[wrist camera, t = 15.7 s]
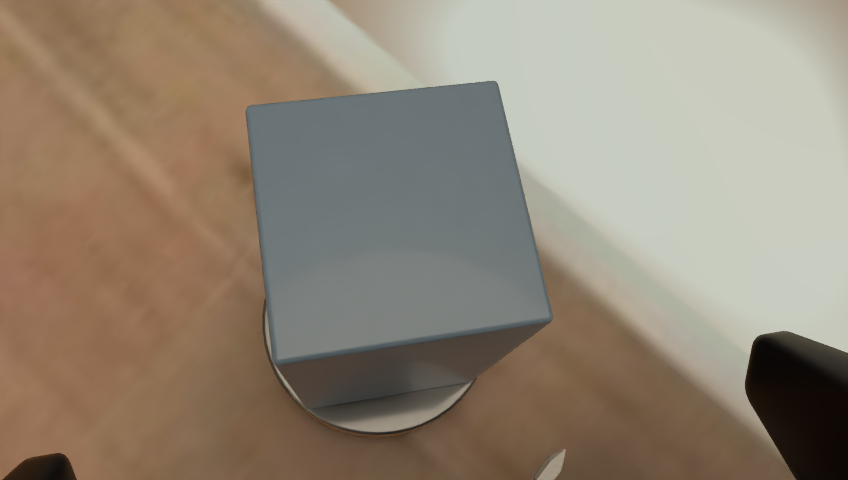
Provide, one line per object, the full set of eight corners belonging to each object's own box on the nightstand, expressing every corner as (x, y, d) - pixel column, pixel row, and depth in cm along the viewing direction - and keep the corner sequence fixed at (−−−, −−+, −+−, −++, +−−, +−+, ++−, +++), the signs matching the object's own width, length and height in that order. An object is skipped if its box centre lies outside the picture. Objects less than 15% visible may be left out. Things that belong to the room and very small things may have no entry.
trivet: (470, 451, 17) (481, 450, 16) (249, 422, 17) (239, 418, 16) (490, 243, 19) (501, 226, 18) (290, 214, 19) (285, 193, 17)
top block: (473, 382, 16) (555, 321, 10) (305, 410, 16) (272, 366, 9) (443, 225, 18) (498, 77, 11) (285, 246, 17) (243, 103, 10)
